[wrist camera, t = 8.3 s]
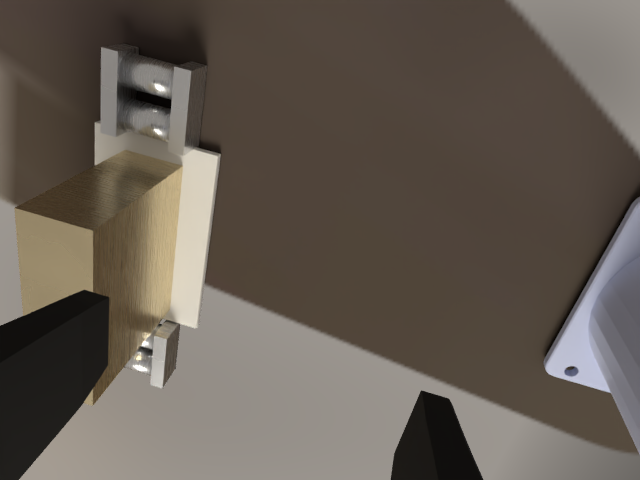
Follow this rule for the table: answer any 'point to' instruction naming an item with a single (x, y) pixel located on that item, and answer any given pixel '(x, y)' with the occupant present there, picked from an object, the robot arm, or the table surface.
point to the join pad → (191, 219)
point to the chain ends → (158, 123)
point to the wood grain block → (105, 247)
